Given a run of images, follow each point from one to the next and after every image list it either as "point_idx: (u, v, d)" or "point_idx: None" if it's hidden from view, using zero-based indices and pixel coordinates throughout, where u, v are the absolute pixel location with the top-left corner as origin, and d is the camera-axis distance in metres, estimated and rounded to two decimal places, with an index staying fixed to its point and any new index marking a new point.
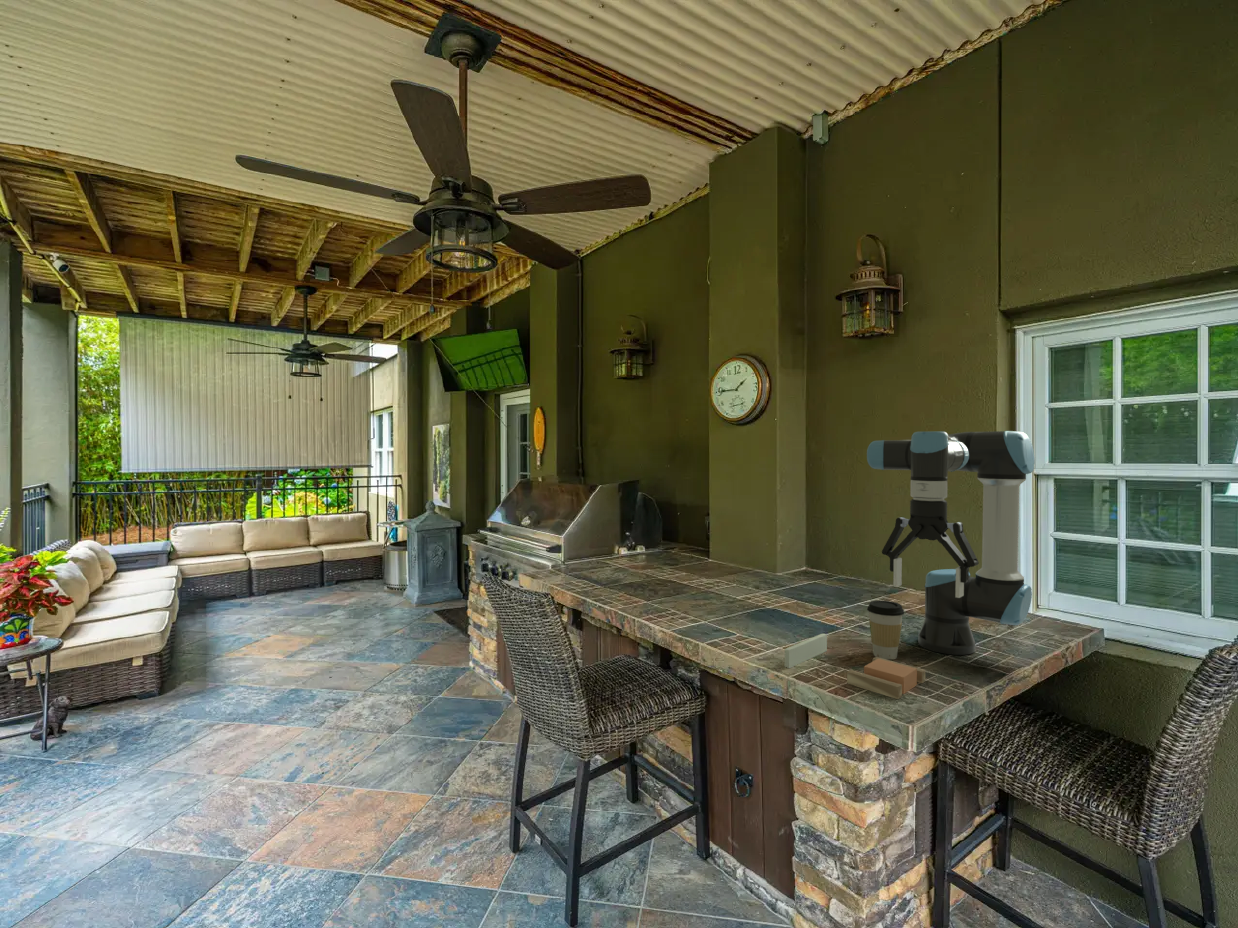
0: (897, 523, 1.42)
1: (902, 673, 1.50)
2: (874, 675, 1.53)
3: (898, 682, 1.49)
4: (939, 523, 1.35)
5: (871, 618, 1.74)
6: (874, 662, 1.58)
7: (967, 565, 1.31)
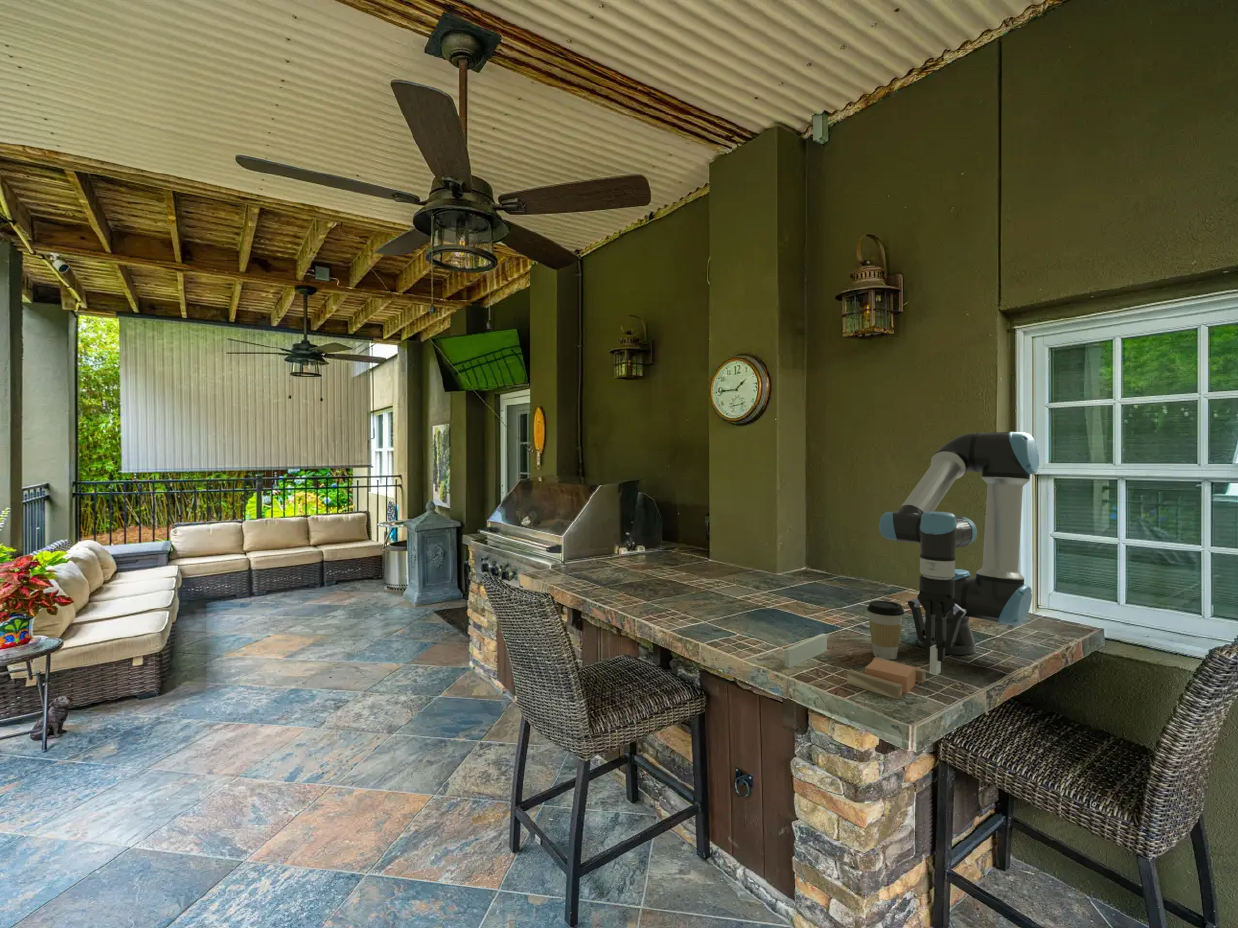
0: (911, 606, 1.48)
1: (904, 673, 1.50)
2: (876, 676, 1.53)
3: (901, 682, 1.49)
4: (949, 601, 1.42)
5: (871, 618, 1.74)
6: (873, 663, 1.57)
7: (943, 645, 1.43)
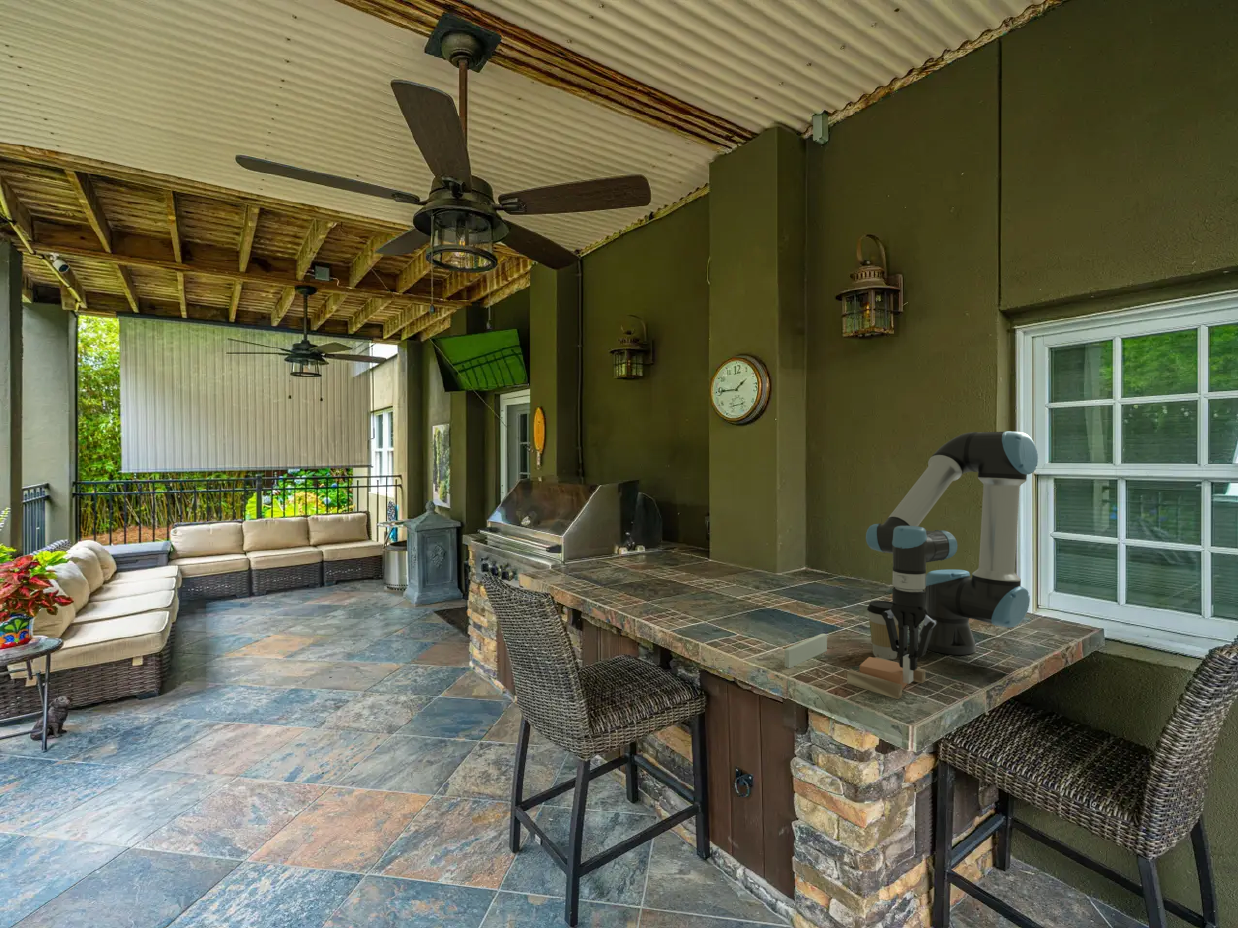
0: (884, 617, 1.54)
1: (898, 670, 1.52)
2: (870, 674, 1.54)
3: (895, 680, 1.50)
4: (920, 612, 1.47)
5: (871, 618, 1.74)
6: (867, 660, 1.59)
7: (915, 655, 1.49)
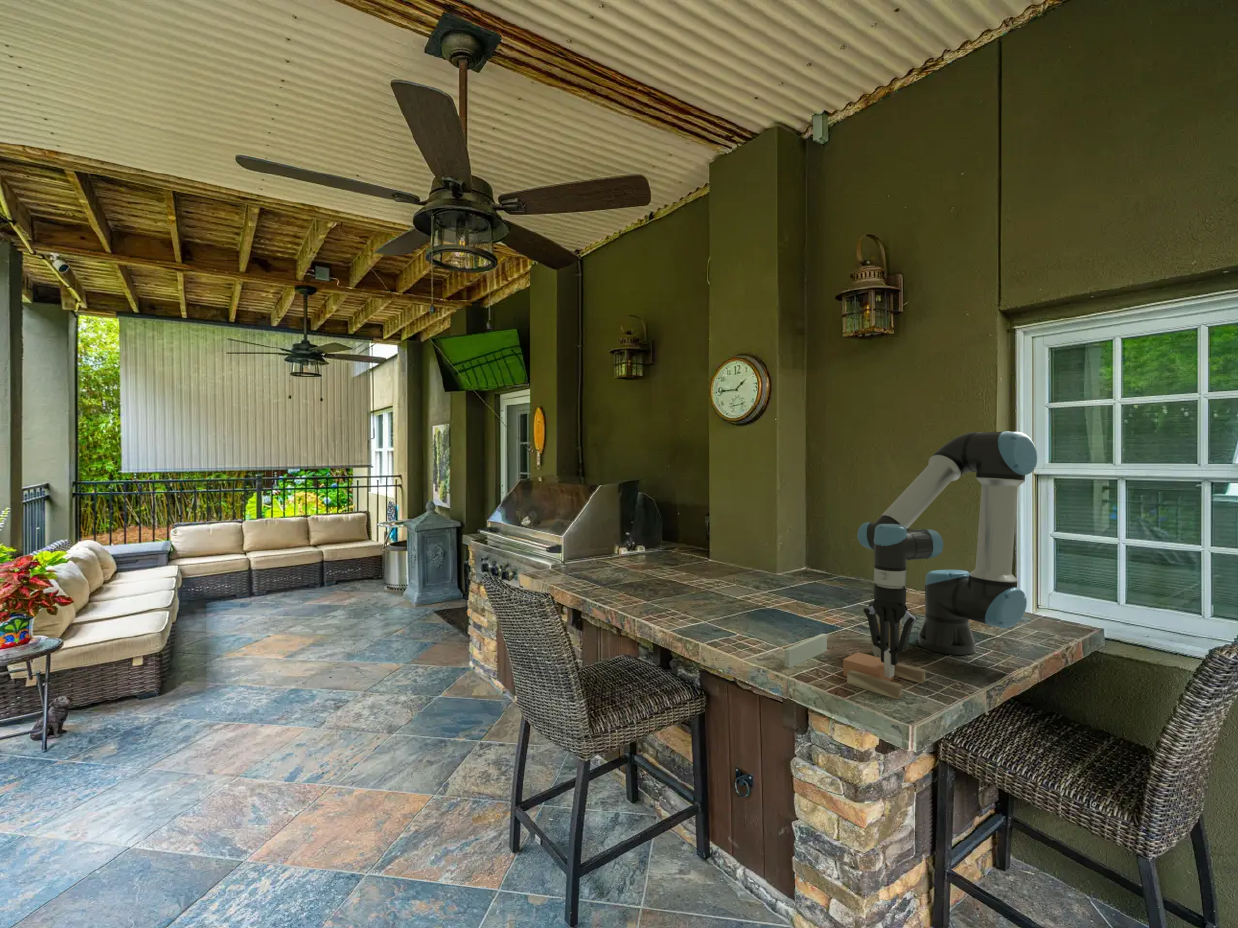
0: (866, 613, 1.57)
1: (879, 665, 1.55)
2: (852, 668, 1.58)
3: (875, 674, 1.54)
4: (900, 608, 1.51)
5: None
6: (853, 655, 1.63)
7: (896, 650, 1.52)
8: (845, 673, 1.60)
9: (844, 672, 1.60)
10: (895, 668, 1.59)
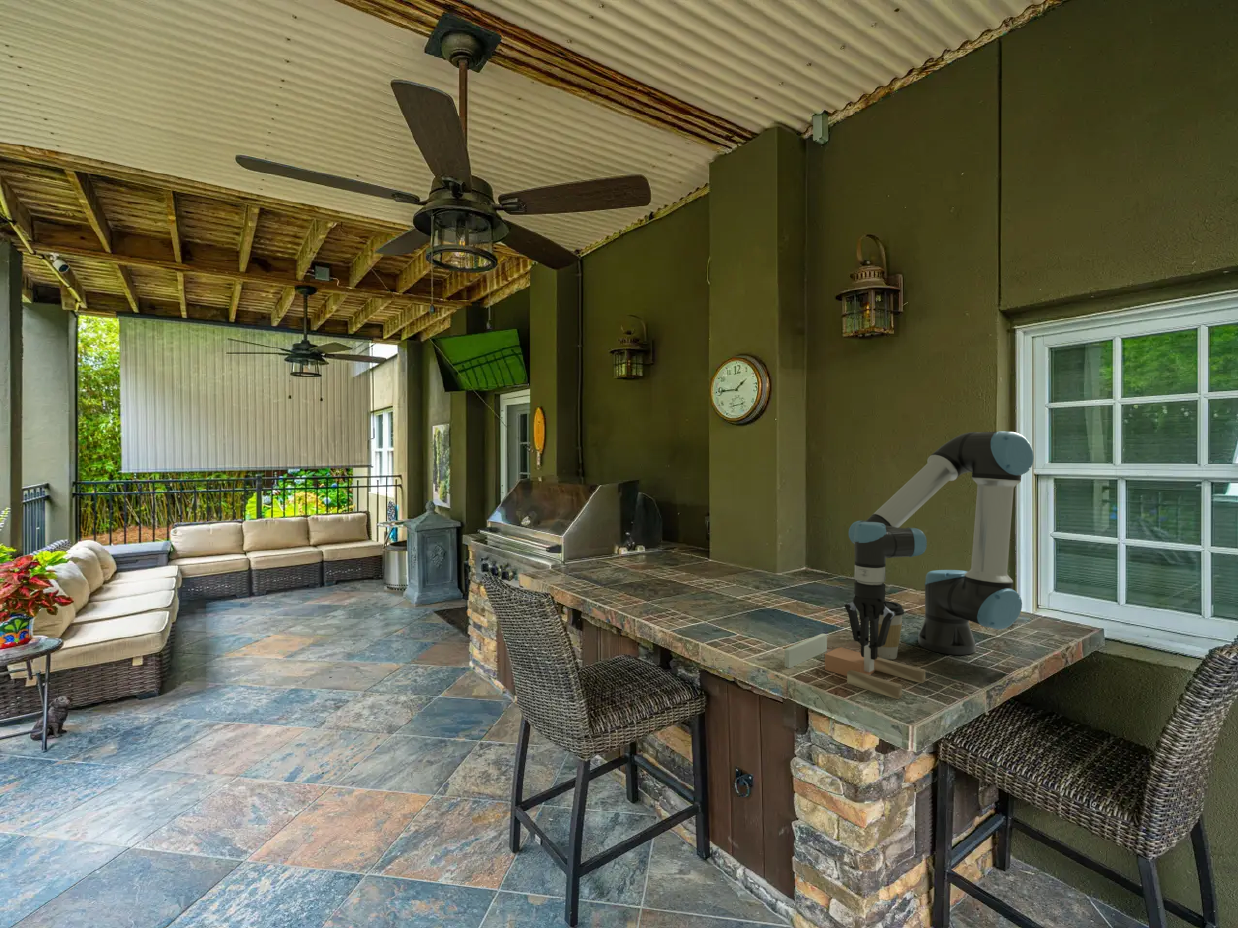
0: (847, 609, 1.61)
1: (859, 660, 1.59)
2: (834, 662, 1.62)
3: (855, 668, 1.58)
4: (879, 604, 1.55)
5: None
6: (835, 650, 1.67)
7: (875, 645, 1.56)
8: (826, 667, 1.64)
9: (826, 666, 1.64)
10: (895, 668, 1.59)
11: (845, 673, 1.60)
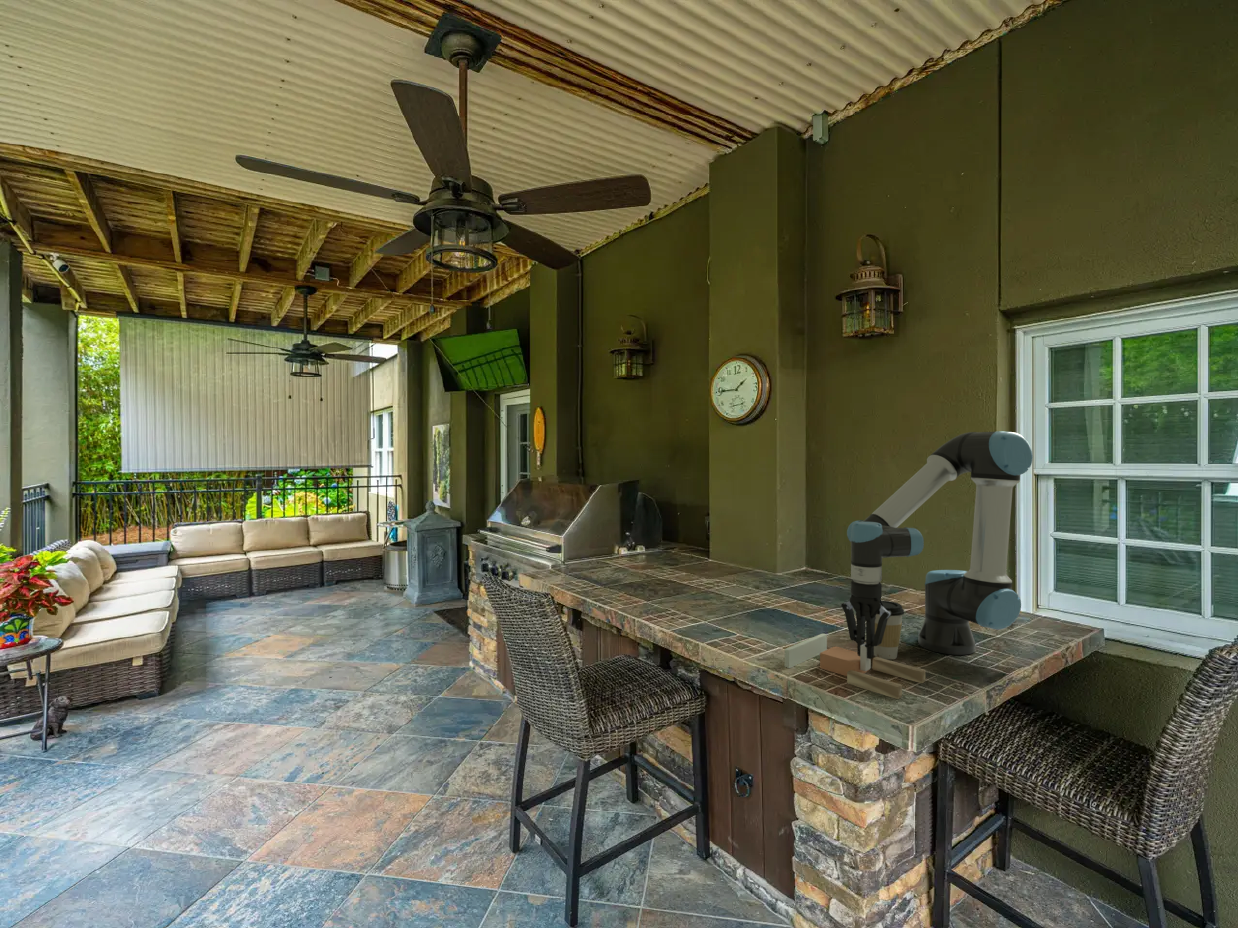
0: (844, 608, 1.62)
1: (854, 659, 1.60)
2: (829, 661, 1.63)
3: (850, 667, 1.59)
4: (875, 603, 1.55)
5: None
6: (830, 649, 1.68)
7: (872, 644, 1.57)
8: (822, 666, 1.65)
9: (821, 665, 1.65)
10: (895, 668, 1.59)
11: (840, 672, 1.61)
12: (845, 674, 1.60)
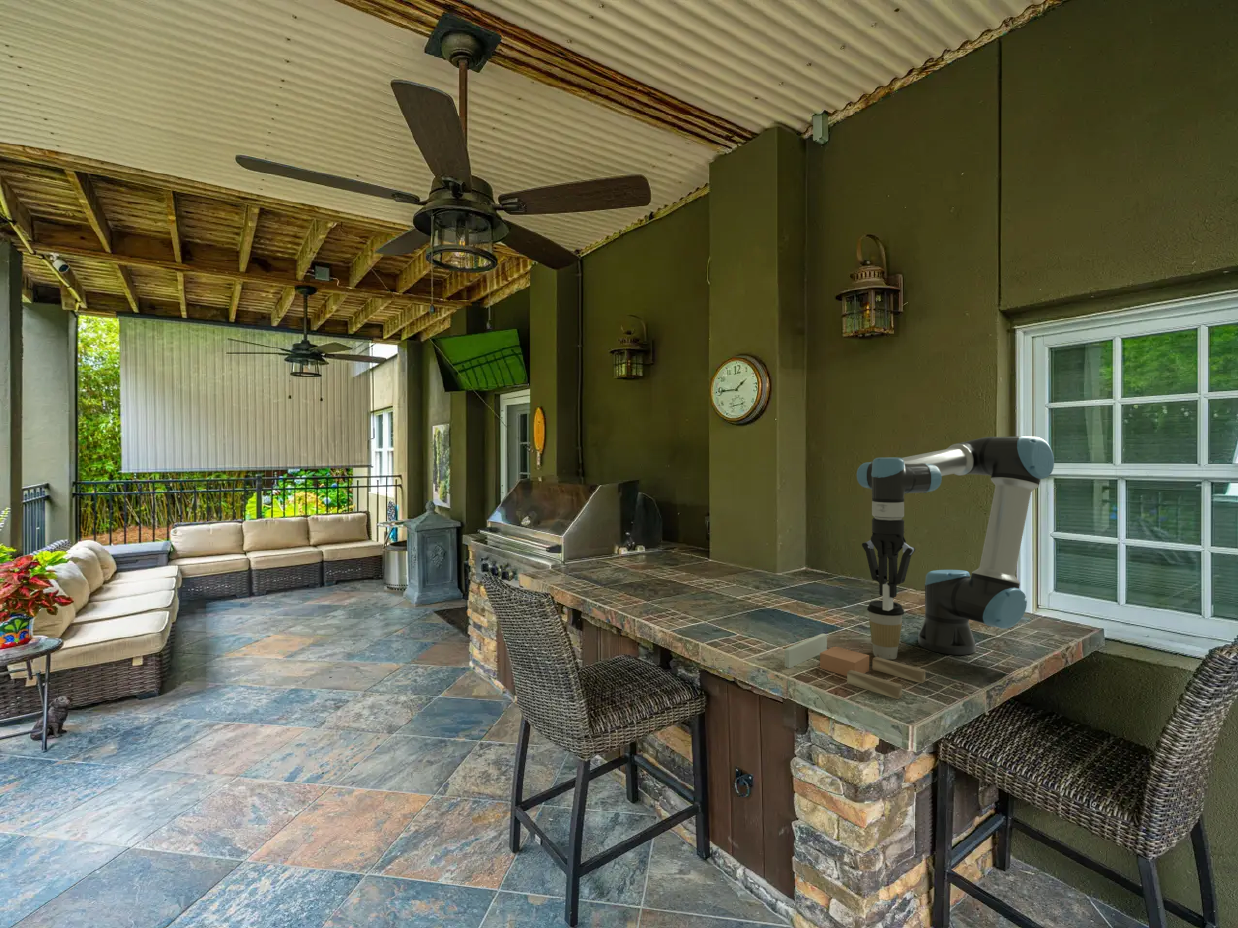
0: (865, 547, 1.57)
1: (854, 659, 1.60)
2: (829, 661, 1.63)
3: (850, 667, 1.59)
4: (898, 540, 1.51)
5: (871, 618, 1.74)
6: (830, 649, 1.68)
7: (894, 582, 1.52)
8: (822, 666, 1.65)
9: (821, 665, 1.65)
10: (895, 668, 1.59)
11: (840, 672, 1.61)
12: (845, 674, 1.60)
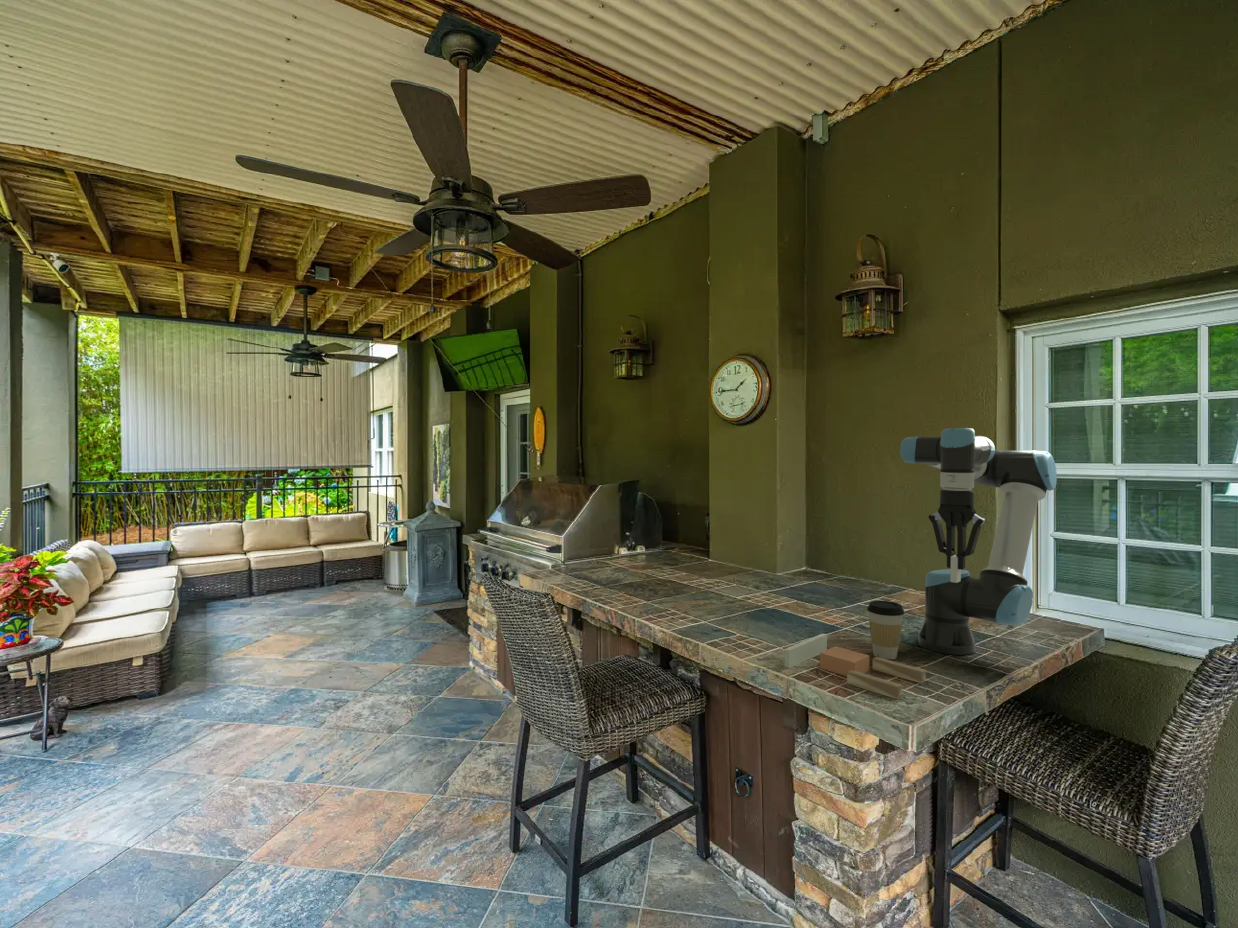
0: (932, 519, 1.56)
1: (854, 659, 1.60)
2: (829, 661, 1.63)
3: (849, 667, 1.59)
4: (968, 511, 1.49)
5: (871, 618, 1.74)
6: (830, 649, 1.68)
7: (963, 554, 1.51)
8: (822, 666, 1.65)
9: (821, 665, 1.65)
10: (895, 668, 1.59)
11: (840, 672, 1.61)
12: (845, 674, 1.60)
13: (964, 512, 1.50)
